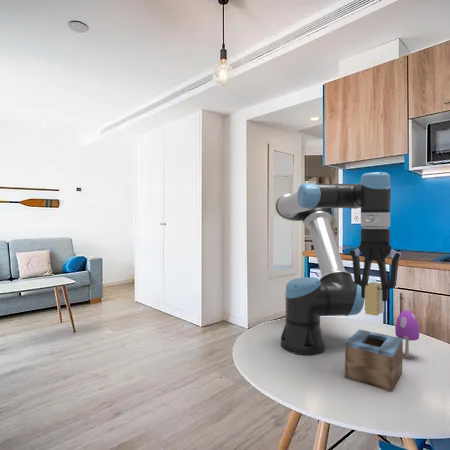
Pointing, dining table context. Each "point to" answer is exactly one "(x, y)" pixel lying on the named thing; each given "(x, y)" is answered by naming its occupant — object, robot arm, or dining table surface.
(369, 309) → the tan rectangular box
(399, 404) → the dining table surface
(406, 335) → the toy
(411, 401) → the dining table surface
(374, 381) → the coin box
